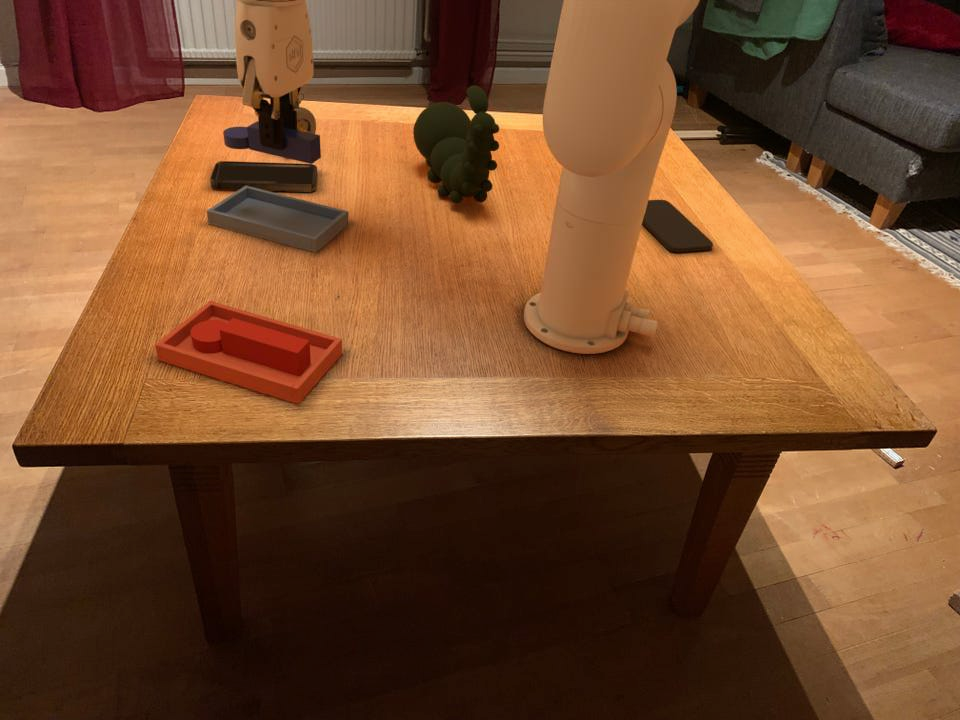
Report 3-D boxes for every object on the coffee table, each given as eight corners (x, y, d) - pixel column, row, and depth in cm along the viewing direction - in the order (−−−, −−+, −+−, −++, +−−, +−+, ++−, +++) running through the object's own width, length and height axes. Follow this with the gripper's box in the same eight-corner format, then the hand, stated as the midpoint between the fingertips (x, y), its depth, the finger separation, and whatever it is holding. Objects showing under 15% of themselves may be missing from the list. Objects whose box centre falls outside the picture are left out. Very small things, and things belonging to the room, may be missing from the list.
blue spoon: (324, 155, 95) (323, 132, 93) (308, 166, 92) (307, 143, 90) (236, 135, 98) (233, 112, 96) (218, 145, 95) (215, 122, 93)
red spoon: (314, 359, 77) (313, 336, 76) (295, 381, 74) (293, 357, 73) (207, 327, 80) (204, 304, 78) (184, 346, 77) (180, 323, 75)
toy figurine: (503, 226, 111) (452, 147, 127) (524, 104, 98) (464, 34, 115) (443, 231, 107) (399, 150, 124) (457, 106, 95) (406, 34, 112)
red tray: (342, 353, 79) (342, 338, 78) (298, 404, 72) (297, 389, 71) (212, 315, 83) (209, 300, 82) (157, 360, 76) (154, 344, 74)
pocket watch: (270, 138, 124) (265, 78, 118) (320, 144, 125) (318, 83, 119) (257, 157, 118) (251, 94, 112) (310, 162, 118) (307, 100, 112)
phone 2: (671, 248, 104) (625, 201, 116) (670, 253, 105) (624, 205, 116) (716, 245, 107) (666, 199, 118) (714, 250, 107) (665, 203, 118)
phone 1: (216, 160, 112) (317, 164, 115) (217, 167, 113) (317, 170, 116) (209, 182, 106) (315, 185, 109) (210, 189, 107) (315, 192, 109)
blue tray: (348, 224, 103) (348, 211, 102) (316, 253, 96) (315, 239, 95) (247, 198, 106) (245, 185, 105) (208, 224, 99) (206, 210, 98)
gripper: (258, 3, 76) (271, 172, 87) (333, -21, 88) (336, 130, 99) (195, -10, 77) (216, 158, 88) (277, -31, 90) (286, 118, 101)
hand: (279, 142), depth 94 cm, fingers closed on blue spoon, 2 cm apart
